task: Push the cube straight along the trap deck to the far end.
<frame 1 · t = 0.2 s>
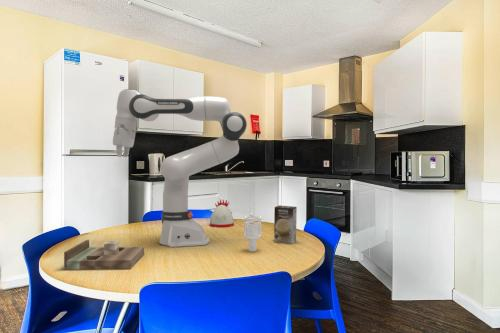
hand: (122, 156, 151), 39 cm above the table, tool pointing down, fingers open, 8 cm apart
coffee box: (285, 241, 156), on the table
clear glass tall piece: (252, 250, 140), on the table
kitchen timer: (221, 225, 195), on the table
cube: (111, 253, 124), point 3 cm above the table, touching trap deck
trap deck: (107, 261, 124), on the table
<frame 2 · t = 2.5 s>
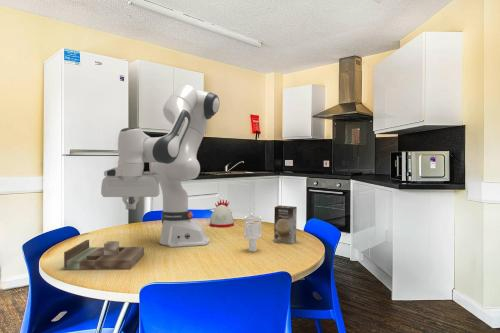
hand: (130, 209, 124), 19 cm above the table, tool pointing down, fingers closed
nothing on the table moved.
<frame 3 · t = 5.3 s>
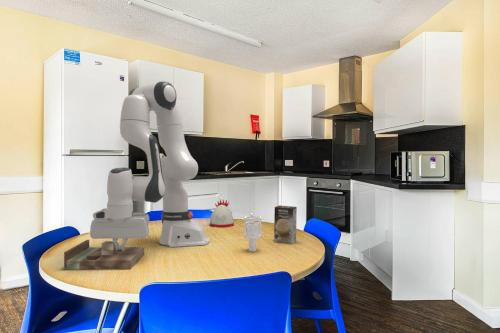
hand: (120, 250, 124), 4 cm above the table, tool pointing down, fingers closed
cube: (109, 253, 124), point 3 cm above the table, touching gripper
everything else where it was.
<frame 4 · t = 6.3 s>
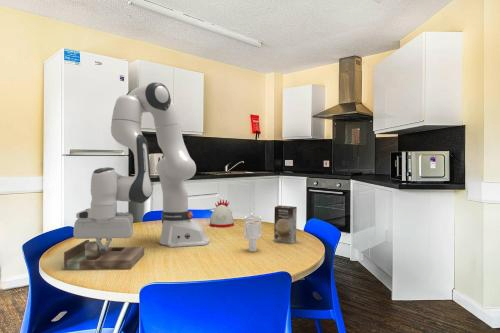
hand: (103, 250, 123), 4 cm above the table, tool pointing down, fingers closed
cube: (92, 253, 123), point 3 cm above the table, touching gripper
everything else where it was.
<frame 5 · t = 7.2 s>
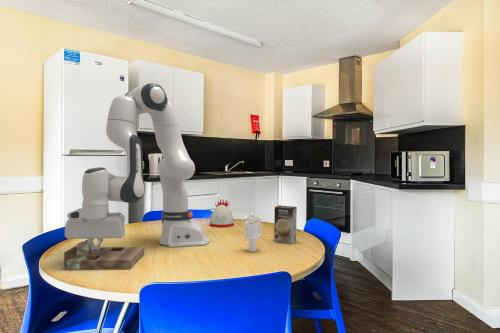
hand: (95, 250, 123), 4 cm above the table, tool pointing down, fingers closed
cube: (84, 253, 123), point 3 cm above the table, touching gripper, trap deck
everything else where it was.
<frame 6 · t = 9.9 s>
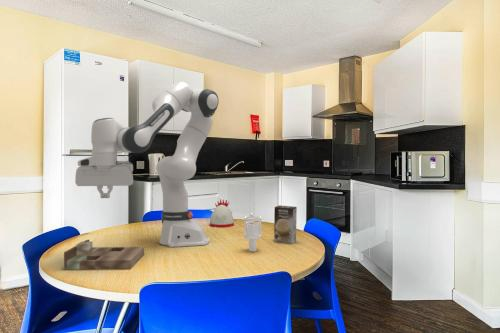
hand: (105, 198, 127), 23 cm above the table, tool pointing down, fingers closed
cube: (84, 253, 123), point 3 cm above the table, touching trap deck
everything else where it was.
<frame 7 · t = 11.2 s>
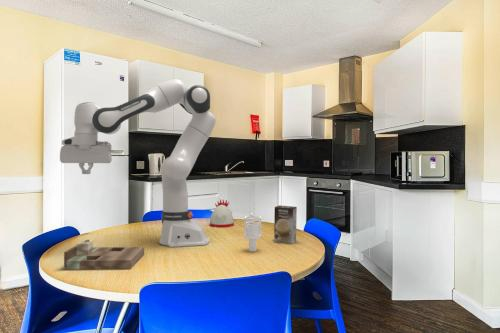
hand: (86, 174, 143), 31 cm above the table, tool pointing down, fingers closed
nothing on the table moved.
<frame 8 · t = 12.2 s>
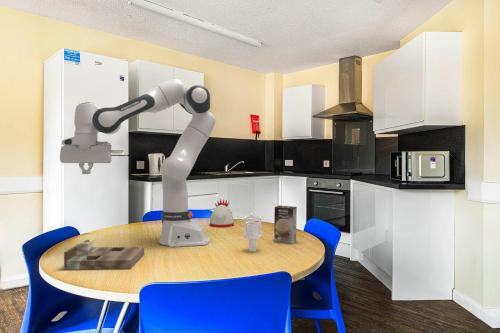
hand: (86, 174, 143), 31 cm above the table, tool pointing down, fingers closed
nothing on the table moved.
at the end: cube 0.6 cm from the target spot on the trap deck, point 3.0 cm above the trap deck's base; cube tilted 0° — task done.
